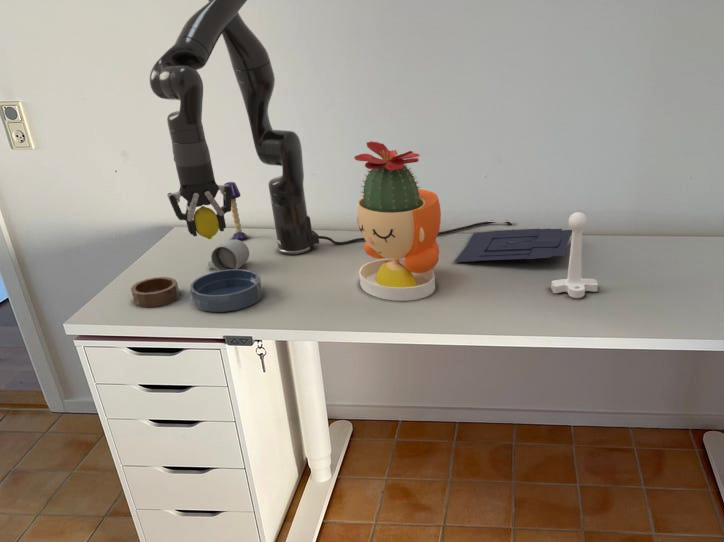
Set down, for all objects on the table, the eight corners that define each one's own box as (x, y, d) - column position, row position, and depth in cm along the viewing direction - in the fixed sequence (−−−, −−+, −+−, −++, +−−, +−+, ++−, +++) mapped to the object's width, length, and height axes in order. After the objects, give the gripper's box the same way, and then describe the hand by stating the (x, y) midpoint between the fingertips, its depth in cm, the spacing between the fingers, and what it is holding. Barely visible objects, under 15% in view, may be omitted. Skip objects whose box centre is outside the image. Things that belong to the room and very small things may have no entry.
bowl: (252, 280, 185) (249, 264, 183) (271, 303, 173) (268, 286, 171) (187, 294, 178) (184, 278, 175) (202, 319, 166) (198, 301, 163)
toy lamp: (229, 238, 213) (218, 183, 205) (243, 234, 216) (233, 179, 207) (236, 242, 210) (226, 186, 202) (251, 238, 213) (241, 183, 204)
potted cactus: (401, 307, 170) (391, 160, 152) (343, 283, 183) (327, 144, 166) (463, 280, 183) (460, 142, 166) (405, 259, 197) (397, 129, 179)
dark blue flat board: (563, 267, 187) (563, 254, 185) (454, 271, 195) (452, 259, 193) (574, 236, 207) (573, 224, 206) (475, 241, 215) (473, 229, 213)
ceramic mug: (253, 263, 195) (248, 236, 192) (240, 274, 188) (234, 247, 185) (217, 261, 197) (211, 235, 193) (203, 273, 190) (196, 245, 186)
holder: (175, 286, 182) (172, 273, 180) (183, 301, 174) (180, 288, 173) (131, 295, 178) (128, 282, 176) (138, 311, 170) (134, 297, 168)
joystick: (593, 285, 180) (599, 208, 170) (600, 298, 173) (606, 219, 163) (550, 287, 179) (553, 210, 169) (555, 300, 173) (558, 220, 163)
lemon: (214, 243, 165) (207, 210, 161) (192, 242, 166) (185, 209, 162) (226, 235, 170) (219, 203, 166) (205, 234, 170) (198, 201, 166)
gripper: (162, 169, 152) (180, 243, 161) (229, 159, 159) (243, 231, 167) (155, 161, 158) (173, 234, 166) (221, 152, 164) (234, 222, 173)
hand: (208, 232), depth 167 cm, fingers closed on lemon, 5 cm apart
